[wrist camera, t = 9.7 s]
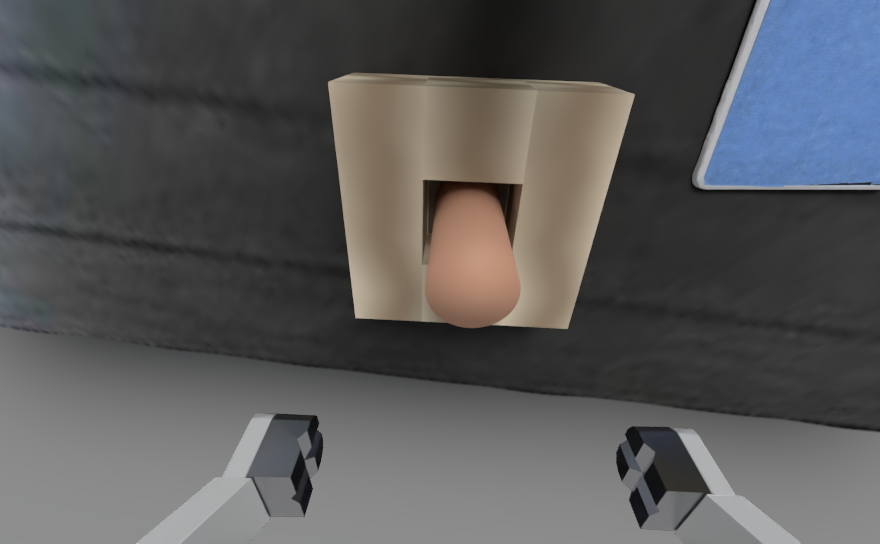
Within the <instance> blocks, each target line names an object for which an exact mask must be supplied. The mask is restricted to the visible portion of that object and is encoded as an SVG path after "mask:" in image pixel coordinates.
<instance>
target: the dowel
mask: <svg viewBox="0 0 880 544" xmlns="http://www.w3.org/2000/svg"><path fill="white" fill-rule="evenodd" d="M520 292H521V284H520V280H519V276H518V272H517V268H516V264H515V260H514V256H513V252H512V248H511V244H510V240H509V236H508V232H507V228H506V224H505V220H504V216H503V212H502V208H501V204H500V200H499V196H498V192H497V189H496V187H495V185H494V183H485V182H463V181H444V182H443V183H442V185H441V186H440V188H439V190H438V193H437V199H436V207H435V215H434V223H433V230H432V238H431V246H430V254H429V262H428V270H427V278H426V286H425V295H426V299H427V302H428V304H429V306H430V308H431V309H432V310H433V312H434V313H435V314H436V315H437V316H438V317H440V318H441V319H442V320H444V321H446V322H448V323H450V324H452V325H455V326H459V327H464V328H480V327H485V326H489V325H492V324H495V323H497V322H499V321H501V320H502V319H504V318H505V317H506V316H508V315H509V314H510V313H511V312H512V310H513V309H514V308H515V306H516V305H517V303H518V300H519V297H520Z"/></svg>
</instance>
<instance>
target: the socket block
mask: <svg viewBox="0 0 880 544" xmlns="http://www.w3.org/2000/svg"><path fill="white" fill-rule="evenodd" d="M328 87H329V95H330V104H331V112H332V121H333V130H334V138H335V147H336V155H337V164H338V172H339V181H340V190H341V198H342V207H343V215H344V224H345V232H346V241H347V249H348V258H349V267H350V275H351V284H352V292H353V301H354V309H355V318H364V319H383V320H403V321H423V322H443V323H448V322H446V321H444V320H442V319H441V318H440V317H438V316H437V315H436V314H435V313H434V312H433V310H432V309H431V308H430V306H429V304H428V302H427V299H426V295H425V286H426V278H427V270H428V262H429V254H430V246H431V238H432V230H433V223H434V215H435V207H436V199H437V193H438V190H439V188H440V186H441V185H442V183H443V182H444V181H463V182H485V183H494V185H495V187H496V189H497V192H498V196H499V200H500V204H501V208H502V212H503V216H504V220H505V224H506V228H507V232H508V236H509V240H510V244H511V248H512V252H513V256H514V260H515V264H516V268H517V272H518V276H519V280H520V284H521V292H520V297H519V300H518V303H517V305H516V306H515V308H514V309H513V310H512V312H511V313H510V314H509V315H508V316H506V317H505V318H504V319H502V320H501V321H499V322H497V323H495V324H492V325H502V326H522V327H542V328H561V329H568V326H569V322H570V319H571V315H572V312H573V308H574V305H575V302H576V298H577V295H578V291H579V288H580V284H581V281H582V277H583V274H584V270H585V267H586V263H587V260H588V256H589V253H590V249H591V246H592V242H593V239H594V235H595V232H596V228H597V225H598V221H599V218H600V214H601V211H602V207H603V204H604V200H605V197H606V193H607V190H608V186H609V183H610V179H611V176H612V173H613V169H614V166H615V162H616V159H617V155H618V152H619V148H620V145H621V141H622V138H623V134H624V131H625V127H626V124H627V120H628V117H629V113H630V110H631V106H632V103H633V99H634V96H635V94H632V93H629V92H626V91H623V90H620V89H617V88H614V87H611V86H608V85H605V84H602V83H599V82H575V81H550V80H525V79H500V78H475V77H450V76H426V75H401V74H376V73H351V74H348V75H346V76H343V77H340V78H338V79H335V80H332V81H329V82H328Z"/></svg>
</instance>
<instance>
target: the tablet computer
mask: <svg viewBox="0 0 880 544" xmlns="http://www.w3.org/2000/svg"><path fill="white" fill-rule="evenodd" d="M692 183H693V184H694V186H696V187H698V188H701V189H706V190H717V189H721V190H734V189H748V190H880V0H757V1H756V3H755V6H754V9H753V12H752V15H751V17H750V20H749V23H748V26H747V28H746V31H745V34H744V37H743V39H742V42H741V45H740V48H739V50H738V53H737V56H736V59H735V61H734V64H733V67H732V70H731V73H730V75H729V78H728V80H727V82H726V84H725V87H724V90H723V93H722V96H721V99H720V102H719V104H718V106H717V109H716V112H715V114H714V117H713V121H712V124H711V127H710V129H709V132H708V134H707V136H706V139H705V141H704V144H703V148H702V151H701V153H700V156H699V159H698V161H697V164H696V167H695V169H694V172H693V176H692Z"/></svg>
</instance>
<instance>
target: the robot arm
mask: <svg viewBox="0 0 880 544" xmlns="http://www.w3.org/2000/svg"><path fill="white" fill-rule="evenodd" d="M318 425H319V421H318V418H317V416H316V415H294V414H277V413H256V415H255V416H254V417H253V418H252V419H251V421H250V423H249V425H248V427H247V429H246V431H245V432H244V434H243V436H242V439H241V440H240V442H239V444H238V446H237V448H236V450H235V452H234V454H233V456H232V458H231V460H230V462H229V464H228V466H227V468H226V470H225V472H224V474H223V476H222V477H215V478H214V479H212V480H211V481H210V482H209V483H208V484H206V485H205V486H204V487H203V488H202V489H200V490H199V491H198V492H197V493H196V494H194V495H193V496H192V497H191V498H190V499H188V500H187V501H186V502H185V503H184V504H182V505H181V506H180V507H179V508H178V509H176V510H175V511H174V512H173V513H172V514H170V515H169V516H168V517H167V518H166V519H164V520H163V521H162V522H161V523H160V524H158V525H157V526H156V527H155V528H154V529H152V530H151V531H150V532H149V533H148V534H146V535H145V536H144V537H143V538H142V539H140V540H139V541H138V542H137V543H136V544H249V543H250V541H252V539H253V538H254V537H255V536H256V535H257V534H258V532H259V531H260V530H261V529H262V528H263V527H264V525H265V524H266V523H267V522H268V521H269V519H270V518H269V517H304V516H305V513H306V510H307V507H308V503H309V500H310V497H311V493H312V490H313V488H312V484H311V481H310V478H311V477H312V476H313V475H314V474H315V473H316V472H317V471H318V470H319V466H320V462H321V458H322V452H323V438H322V434H321V433H320V432H319V431H318V430H317V428H318ZM625 435H626V438H627V440H626V441H625V442H623V443H621V444H620V445H619V447H618V450H617V452H616V463H617V468H618V472H619V475H620V478H621V480H622V482H623V483H624V484H625V485H626V486H627V487H628V488H629V489H630V490H631V495H630V498H629V501H630V504H631V507H632V509H633V511H634V514H635V517H636V519H637V522H638V524H639V527H640V529H650V530H664V531H676V532H675V534H676V535H677V536H678V537H679V539H680V540H681V541H682V542H683V543H684V544H801V543H800V542H799V541H798V540H797V539H795V538H794V537H793V536H792V535H790V534H789V533H788V532H787V531H785V530H784V529H783V528H782V527H781V526H779V525H778V524H777V523H775V522H774V521H773V520H772V519H770V518H769V517H768V516H767V515H766V514H764V513H763V512H762V511H760V510H759V509H758V508H757V507H756V506H754V505H753V504H752V503H751V502H749V501H748V500H747V499H746V498H744V497H743V496H742V495H735V493H734V492H733V490H732V489H731V487H730V485H729V484H728V482H727V481H726V479H725V477H724V476H723V474H722V472H721V471H720V470H719V468H718V466H717V464H716V463H715V461H714V460H713V458H712V456H711V455H710V453H709V452H708V450H707V448H706V447H705V445H704V444H703V442H702V441H701V439H700V437H699V436H698V434H697V433H696V432H695V431H694V430H693V429H689V428H669V427H634V426H632V427H630V428H628V429H627V432H626V433H625Z"/></svg>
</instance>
